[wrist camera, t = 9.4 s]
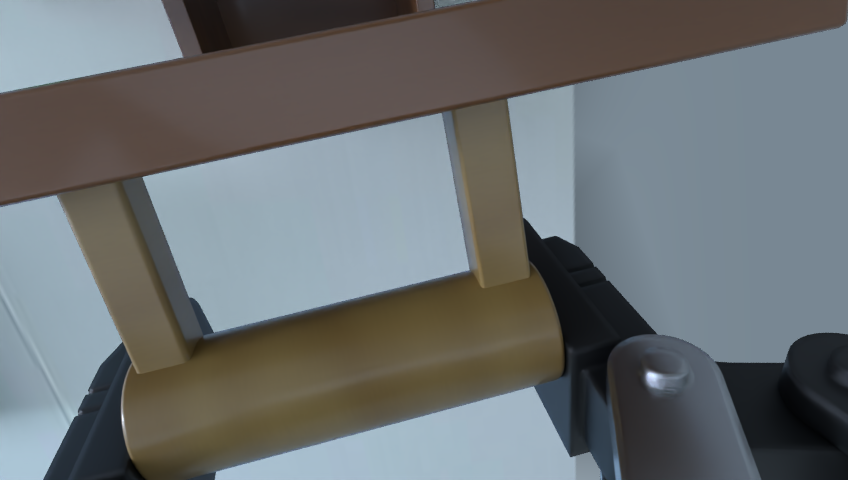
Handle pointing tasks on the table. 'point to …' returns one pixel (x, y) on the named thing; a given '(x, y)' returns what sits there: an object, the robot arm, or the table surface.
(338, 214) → the table surface
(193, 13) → the chest
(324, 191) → the table surface
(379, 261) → the table surface
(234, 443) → the lid
